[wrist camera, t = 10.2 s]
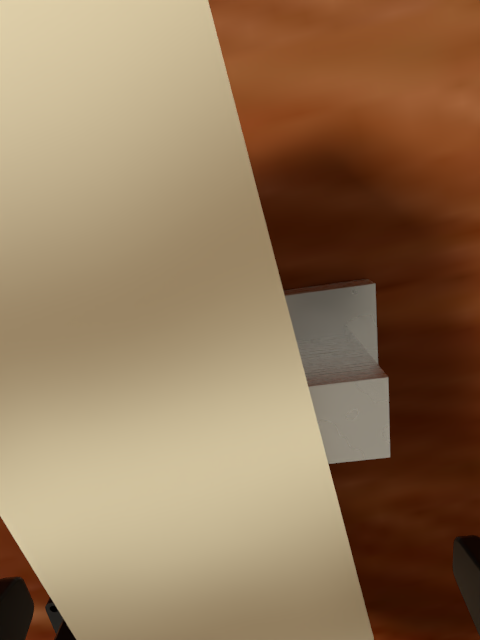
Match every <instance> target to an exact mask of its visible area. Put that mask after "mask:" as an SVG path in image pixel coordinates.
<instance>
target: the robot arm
mask: <svg viewBox="0 0 480 640" xmlns="http://www.w3.org/2000/svg"><path fill="white" fill-rule="evenodd" d="M453 572H454V576H455V579H456V582H457V584H458V587H459V589H460V591H461V594H462V596H463V598H464V601H465V603H466V605H467V608H468V610H469V612H470V615H471V617H472V619H473V622H474V624H475V626H476V629H477V631H478V633H479V636H480V537H478V536H474V535H470V536H459V537H456V538H455V539H454V546H453ZM45 608H46V612H47V614H48V616H49V619H50V621H51V623H52V626H53V628H54V630H55V633H56V636H55V638H54V640H76V638H75V637H74V635H73V633H72V632H71V630H70V629H69V627H68V625H67V624H66V622H65V620H64V619H63V617H62V616H61V614H60V612H59V611H58V609H57V607H56V606H55V604H54V602H53V601H52V599H51V598H50V599H49V601H48V603H47V605H46V607H45ZM33 612H34V603H33V600H32V598H31V595H30V593H29V591H28V589H27V586H26V584H25V582H24V580H23V579H22V578H21V577H9V578H3V579H0V640H25V638H26V635H27V632H28V629H29V626H30V623H31V620H32V616H33Z"/></svg>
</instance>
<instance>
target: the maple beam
mask: <svg viewBox="0 0 480 640" xmlns="http://www.w3.org/2000/svg"><path fill="white" fill-rule="evenodd" d="M0 516H1V518H2V519H3V521H4V523H5V524H6V526H7V528H8V529H9V531H10V532H11V534H12V536H13V537H14V539H15V541H16V542H17V544H18V545H19V547H20V549H21V550H22V552H23V554H24V555H25V557H26V558H27V560H28V562H29V563H30V565H31V567H32V568H33V570H34V572H35V573H36V575H37V576H38V578H39V580H40V581H41V583H42V585H43V586H44V588H45V589H46V591H47V593H48V594H49V596H50V598H51V599H52V601H53V602H54V604H55V606H56V607H57V609H58V611H59V612H60V614H61V616H62V617H63V619H64V620H65V622H66V624H67V625H68V627H69V629H70V630H71V632H72V633H73V635H74V637H75V638H76V640H374V638H373V634H372V630H371V626H370V622H369V618H368V614H367V611H366V607H365V603H364V599H363V595H362V591H361V587H360V584H359V580H358V576H357V572H356V568H355V564H354V561H353V557H352V553H351V549H350V545H349V541H348V537H347V534H346V530H345V526H344V522H343V518H342V514H341V511H340V507H339V503H338V499H337V495H336V491H335V487H334V484H333V480H332V476H331V472H330V468H329V464H328V461H327V457H326V453H325V449H324V445H323V441H322V437H321V434H320V430H319V426H318V422H317V418H316V414H315V410H314V407H313V403H312V399H311V395H310V391H309V387H308V384H307V380H306V376H305V372H304V368H303V364H302V360H301V357H300V353H299V349H298V345H297V341H296V337H295V334H294V330H293V326H292V322H291V318H290V314H289V310H288V307H287V303H286V299H285V295H284V291H283V287H282V283H281V280H280V276H279V272H278V268H277V264H276V260H275V257H274V253H273V249H272V245H271V241H270V237H269V233H268V230H267V226H266V222H265V218H264V214H263V210H262V207H261V203H260V199H259V195H258V191H257V187H256V183H255V180H254V176H253V172H252V168H251V164H250V160H249V156H248V153H247V149H246V145H245V141H244V137H243V133H242V130H241V126H240V122H239V118H238V114H237V110H236V106H235V103H234V99H233V95H232V91H231V87H230V83H229V80H228V76H227V72H226V68H225V64H224V60H223V56H222V53H221V49H220V45H219V41H218V37H217V33H216V30H215V26H214V22H213V18H212V14H211V10H210V6H209V3H208V0H0Z"/></svg>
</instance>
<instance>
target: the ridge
mask: <svg viewBox="0 0 480 640" xmlns="http://www.w3.org/2000/svg"><path fill="white" fill-rule="evenodd" d="M283 291H284V295H285V299H286V303H287V307H288V310H289V314H290V318H291V322H292V326H293V330H294V334H295V337H296V341H297V345H298V349H299V353H300V357H301V360H302V364H303V368H304V372H305V376H306V380H307V384H308V387H309V391H310V395H311V399H312V403H313V407H314V410H315V414H316V418H317V422H318V426H319V430H320V434H321V437H322V441H323V445H324V449H325V453H326V457H327V461H328V464H332V463H342V462H351V461H360V460H370V459H379V458H389V457H390V424H389V382H388V376H387V375H386V374H385V372H384V371H383V370H382V369H381V368H380V366H379V365H378V345H377V315H376V285H375V283H374V282H372V281H370V280H369V279H361V280H354V281H347V282H339V283H332V284H325V285H317V286H310V287H303V288H296V289H288V290H283Z"/></svg>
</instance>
